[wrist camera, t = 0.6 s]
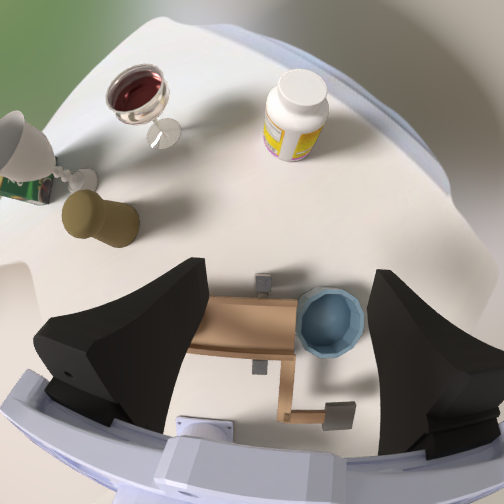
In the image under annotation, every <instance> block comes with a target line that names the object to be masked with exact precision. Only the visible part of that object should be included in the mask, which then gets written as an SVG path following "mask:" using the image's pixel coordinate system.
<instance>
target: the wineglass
mask: <svg viewBox="0 0 504 504" xmlns="http://www.w3.org/2000/svg"><path fill="white" fill-rule="evenodd" d="M169 95H170V90H169V86H168V82H167V81H166V80H165V79H164V76H163V72H162V71H161V70H160V69H159V68H158V67H157V66H154V65H152V64H140V65H135V66H133V67H130V68H128V69H126V70H124V71H123V72H122V73H120V74H119V75H118V76H117V77H116V78H115V79H114V80H113V81H112V82H111V84H110V86H109V87H108V89H107V93H106V104H107V105H108V107H109V109H111V110H112V111H113V113H114V114H115V116H116V118H118V119H119V120H120V121H122V122H123V123H125V124H130V125H136V126H137V125H144V124H147V123H149V122H151V121H153V122H154V124H153V125H152V126H151V127H150V129H149V131H148V134H147V140H148V143H149V144H150V146H151V147H153V148H155V149H159V150H160V149H166V148H169V147H171V146H172V145H173V144H175V143H176V141H177V140H178V139H179V136H180V133H181V128H180V125H179V124H178V122H177V121H175V120H173V119H169V118H166V119H161V120H159V121H158V120H157V117H159V116H160V115H161V114H162V112H163V111H164V110H165V108H166V106H167V104H168V101H169Z"/></svg>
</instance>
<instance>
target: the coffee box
mask: <svg viewBox="0 0 504 504" xmlns="http://www.w3.org/2000/svg"><path fill="white" fill-rule="evenodd" d="M55 159H56V161H57V158H56V157H55ZM52 180H53V173H51V174H50V175H49V176H48V177H45V178H42V179H38V180H35V181H26V182H17V181H14V180H11V179H9V178H6V177H3V176H1V175H0V195H1V196H5V197H8V198H12V199H17V200H21V201H25V202H28V203H32V204H35V205H44V204H49V196H50V191H51V185H52Z"/></svg>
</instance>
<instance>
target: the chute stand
mask: <svg viewBox="0 0 504 504" xmlns="http://www.w3.org/2000/svg"><path fill="white" fill-rule="evenodd" d="M254 287H255V291H269V292H271V276H270V275H268V274H255V286H254ZM267 365H268V360H259V359H252V374H258V375H267Z"/></svg>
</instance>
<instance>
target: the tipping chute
mask: <svg viewBox="0 0 504 504" xmlns="http://www.w3.org/2000/svg"><path fill="white" fill-rule="evenodd" d="M297 304H298V301H297V299H274V298H268V293H259V298H249V297H229V296H212V295H209V300H208V304H207V307H206V310H205V313H204V316H203V319H202V321H201V323H200V325H199V327H198V329H197V331H196V333H195V336H194V338H193V340H192V342H191V344H190V346H189V348H188V350H187V352H186V353H191V354H200V355H209V356H219V357H230V358H243V359H259V360H281V372H280V386H279V400H278V412H277V421H281V422H283V423H295V424H310V423H323V424H322V429H323V431H327V430H346V429H352V424H353V420H354V415H355V409H356V403H355V402H354V401H352V402H331V403H326V404H325V410H291V406H292V396H293V385H294V373H295V360H296V355H295V354H294V341H295V324H296V307H297Z"/></svg>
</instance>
